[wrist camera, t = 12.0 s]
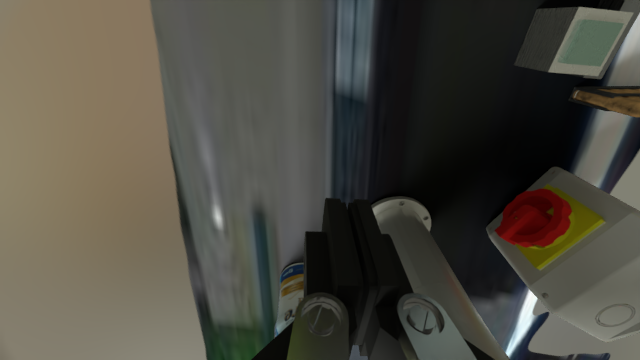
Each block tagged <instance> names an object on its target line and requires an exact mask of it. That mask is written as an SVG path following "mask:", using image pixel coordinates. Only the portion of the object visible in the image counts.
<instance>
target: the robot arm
mask: <svg viewBox="0 0 640 360" xmlns="http://www.w3.org/2000/svg"><path fill="white" fill-rule="evenodd" d="M430 228H431V217H430V214H429V212H428V211H427V209H426V208H425V206H424V205H423V204H422V203H420V202H419V201H417V200H415V199H413V198H409V197H403V196H396V197H389V198H385V199H382V200H380V201H377V202H376V203H374V204H372V205H371V204H370V201H369V200H359V199H354V201H353V203H349V204H348V209H347V207H346V204H345V203H342V202H341V200H340V199H334V198H326V199H325V206H324V215H323V224H322V232H305V243H304V298H303V299H302V300H301V302H300V303H299V304H298V307H297V309H296V313H295V318H294V321H293V322H291V323H290V324H289V325H288V326H287V327H286V328H285V329H284V330H283V331H282V332H281V333H280V334H278V335H277V336H276V337H275V338H274V339H273V340H272V341H271V342H270V343H269V344H268V345H267V346H266V347H264V348H263V349H262V350H261V351H260V352H259V353H258V354H257V355H256V356H255V357H254V358H253V359H251V360H349V357H350V354H351V350H352V346H353V344H354V345H359V351H360V356H368V360H510V359H509V357H508V356H507V355H506V353H505V352H504V351H503V349H502V348H501V347H500V345H499V344H498V342H497V341H496V340H495V338H494V337H493V335H492V334H491V332H490V331H489V329H488V328H487V326H486V325H485V323H484V322H483V320H482V319H481V317H480V315H479V314H478V312H477V311H476V309H475V307H474V306H473V304H472V302H471V301H470V299H469V297H468V296H467V294H466V292H465V291H464V289H463V287H462V286H461V284H460V282H459V281H458V279H457V278H456V276H455V274H454V273H453V271H452V269H451V268H450V266H449V264H448V263H447V261H446V259H445V258H444V256H443V254H442V253H441V251H440V249H439V248H438V246H437V244H436V243H435V241H434V239H433V238H432V236H431V234H430V233H429V231H430Z"/></svg>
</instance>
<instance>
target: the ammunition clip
mask: <svg viewBox="0 0 640 360" xmlns="http://www.w3.org/2000/svg"><path fill="white" fill-rule="evenodd" d="M568 101H571V102H575V103H579V104H582V105H586V106H589V107H593V108H596V109H600V110H603V111H615V112H618V113H622V114H625V115H629V116H633V117H640V86H590V87H574V89H573V91H572V93H571V96H570V98H569V100H568Z"/></svg>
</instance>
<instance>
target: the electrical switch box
mask: <svg viewBox="0 0 640 360" xmlns="http://www.w3.org/2000/svg"><path fill="white" fill-rule="evenodd" d="M486 230H487V233H488V235H489V237H490V239H491V240H492V242H493V243H494V244H495V245H496V247H497V248H498V249H499V251H500V252H501V253H502V254H503V256H504V257H505V258H506V260H507V261H508V262H509V263H510V265H511V266H512V267H513V269H514V270H515V271H516V273H517V274H518V275H519V276H520V278H521V279H522V280H523V282H524V283H525V284H526V285H527V287H528V288H529V289H530V290H531V291H532V293H533V294H534V295H535V296H536V297H537V298H538V299H539V300H540V301H541V302H542V303H543V304H544V305H545V306H546V307H547V308H548V310H549V311H551V313H553V314H555V315H557V316H558V317H560V318H562V319H564V320H565V321H567V322H569V323H571V324H573V325H574V326H576V327H578V328H580V329H582V330H584V331H585V332H587V333H589V334H591V335H593V336H594V337H596V338H598V339H600V340H601V341H604V342H610V341H613V340H617V339H620V338H624V337H627V336H630V335H634V334H637V333H640V211H638V210H637V209H635V208H633V207H631V206H629V205H627V204H626V203H624V202H622V201H620V200H619V199H617V198H615V197H613V196H611V195H609V194H608V193H606V192H604V191H602V190H600V189H599V188H597V187H595V186H593V185H591V184H589V183H588V182H586V181H584V180H582V179H580V178H579V177H577V176H575V175H573V174H571V173H569V172H567V171H565V170H563V169H561V168H559V167H552V168H550V169H549V170H548V171H547V172H546V173H545V174H544V175H543V176H542V177H540V178H539V179H538V180H537V181H536V182H535V183H534V184H533V185H532V186H531V187H529V188H528V189H527V190H526V191H525V192H523V193H521V194H519V195H518V196H516V198H515V199H514V200H513V201H512V202H511V203H509V204H508V205H507V206H506V208H505V209H504V211H503V212H502V213H501V214H500V215H499V216H498V217H496V218H495V219H494V220H493V221H492V222H491V223H490V224H489V225H488V226H487V227H486Z"/></svg>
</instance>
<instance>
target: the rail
mask: <svg viewBox="0 0 640 360" xmlns="http://www.w3.org/2000/svg"><path fill="white" fill-rule="evenodd" d="M639 13H640V0H599V2H598V4H597V6H596V8H585V7H567V8H549V9H537V10H536V13H535V15H534V17H533V20H532V22H531V25H530V27H529V30H528V32H527V35H526V37H525V39H524V42H523V44H522V47H521V49H520V52H519V54H518V56H517V59H516V61H515V64H514V65H516V66H521V67H526V68H531V69H535V70H540V71H545V72H553V73H563V74H567V75H573V76H578V77H583V78H594V79H602V77H603V75H604V74H605V72H606V70H607V68H608V67H609V65H610V63H611V61H612V60H613V58H614V56H615V54H616V53H617V51H618V49H619V48H620V46H621V44H622V42H623V41H624V39H625V37H626V35H627V34H628V32H629V30H630V28H631V27H632V25H633V23H634V21H635V20H636V18H637V16H638V15H639Z"/></svg>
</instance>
